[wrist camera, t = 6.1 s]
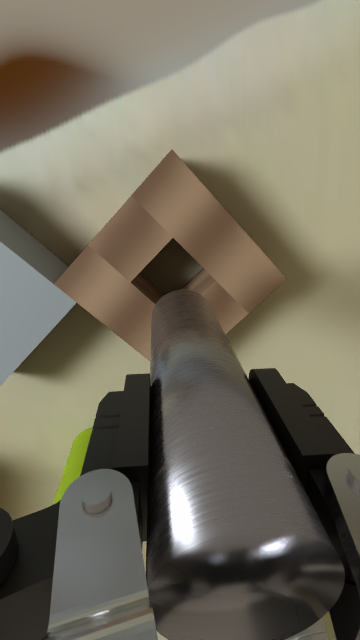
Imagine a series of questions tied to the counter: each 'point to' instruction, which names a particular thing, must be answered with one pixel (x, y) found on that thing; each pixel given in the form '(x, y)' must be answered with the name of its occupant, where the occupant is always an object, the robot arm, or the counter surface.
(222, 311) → the holder block
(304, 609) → the steel pin
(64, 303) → the socket block
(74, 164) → the counter surface
